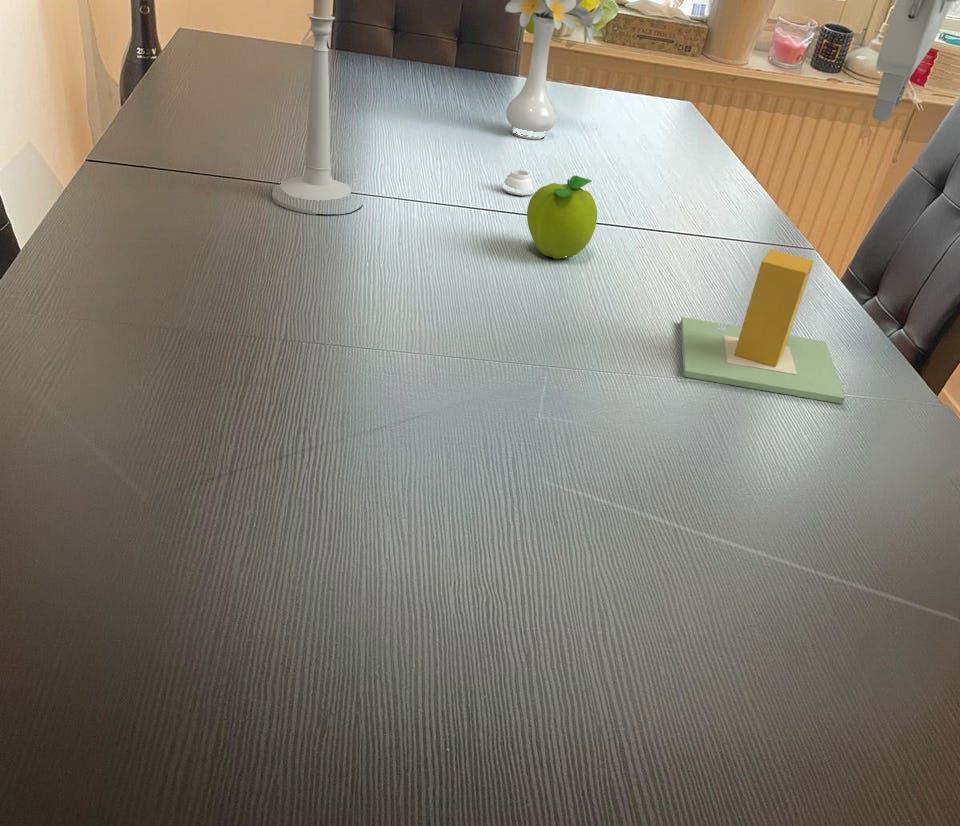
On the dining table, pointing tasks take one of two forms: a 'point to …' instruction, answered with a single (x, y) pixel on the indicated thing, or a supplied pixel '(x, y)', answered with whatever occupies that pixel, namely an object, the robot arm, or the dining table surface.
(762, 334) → the yellow box
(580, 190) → the fruit
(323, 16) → the candlestick
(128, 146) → the dining table surface
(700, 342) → the mat
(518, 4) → the flower vase
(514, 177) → the white jar
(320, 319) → the dining table surface
